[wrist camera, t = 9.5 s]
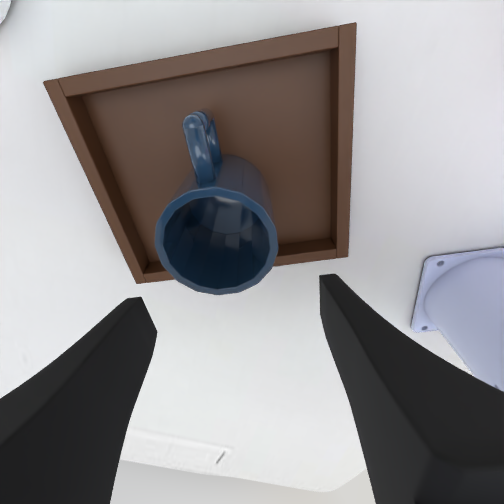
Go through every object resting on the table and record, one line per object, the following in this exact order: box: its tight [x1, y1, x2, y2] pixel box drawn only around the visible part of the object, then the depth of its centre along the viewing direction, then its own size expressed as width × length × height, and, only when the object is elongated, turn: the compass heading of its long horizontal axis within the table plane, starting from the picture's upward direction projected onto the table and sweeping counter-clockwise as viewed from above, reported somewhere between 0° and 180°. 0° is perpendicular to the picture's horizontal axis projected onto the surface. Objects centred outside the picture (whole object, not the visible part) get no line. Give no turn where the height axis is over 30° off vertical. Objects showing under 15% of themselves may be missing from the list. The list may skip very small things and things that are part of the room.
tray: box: [43, 22, 357, 284], centre depth 17 cm, size 15×13×2 cm
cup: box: [154, 108, 278, 295], centre depth 15 cm, size 8×6×6 cm
